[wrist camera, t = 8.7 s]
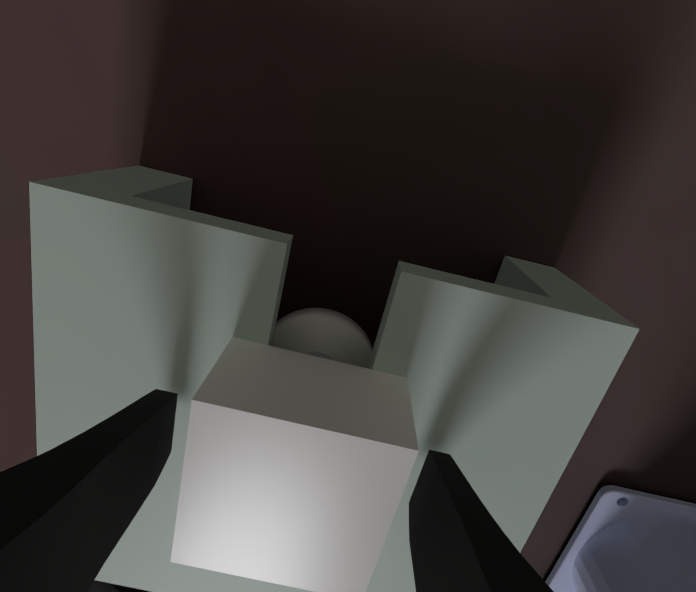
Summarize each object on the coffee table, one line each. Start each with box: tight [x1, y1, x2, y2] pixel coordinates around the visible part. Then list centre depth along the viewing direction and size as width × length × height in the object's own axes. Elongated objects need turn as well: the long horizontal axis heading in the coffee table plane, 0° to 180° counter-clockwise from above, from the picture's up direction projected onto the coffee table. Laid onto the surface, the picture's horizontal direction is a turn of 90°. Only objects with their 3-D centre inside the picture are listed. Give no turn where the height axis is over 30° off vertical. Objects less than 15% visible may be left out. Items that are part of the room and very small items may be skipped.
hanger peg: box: [170, 308, 419, 592], centre depth 14 cm, size 5×5×7 cm
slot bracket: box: [29, 166, 639, 592], centre depth 16 cm, size 16×14×6 cm
